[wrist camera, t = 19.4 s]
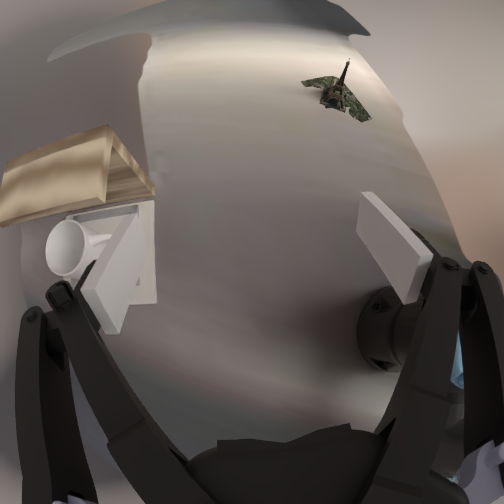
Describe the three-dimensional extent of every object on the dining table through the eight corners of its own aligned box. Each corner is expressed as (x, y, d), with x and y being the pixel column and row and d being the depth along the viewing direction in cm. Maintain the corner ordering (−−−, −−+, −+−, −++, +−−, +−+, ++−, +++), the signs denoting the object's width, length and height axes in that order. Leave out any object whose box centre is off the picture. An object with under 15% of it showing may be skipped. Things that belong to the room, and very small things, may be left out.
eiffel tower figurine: (372, 121, 51) (395, 82, 38) (336, 131, 51) (355, 89, 38) (335, 75, 54) (349, 35, 41) (299, 83, 53) (308, 39, 40)
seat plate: (157, 303, 44) (154, 303, 43) (65, 306, 44) (61, 306, 42) (154, 201, 47) (151, 198, 46) (67, 216, 47) (63, 214, 45)
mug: (138, 268, 45) (109, 257, 34) (84, 288, 44) (49, 283, 33) (128, 222, 46) (100, 202, 36) (76, 244, 45) (42, 230, 35)
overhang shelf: (154, 239, 46) (97, 197, 26) (65, 250, 46) (-6, 223, 26) (154, 186, 48) (107, 124, 28) (68, 203, 47) (6, 162, 28)
